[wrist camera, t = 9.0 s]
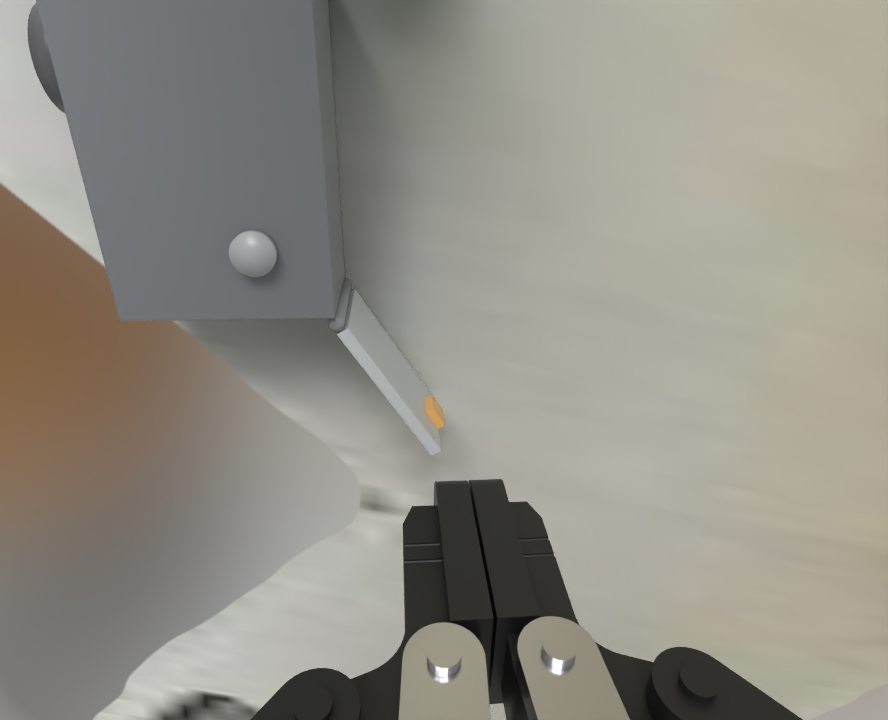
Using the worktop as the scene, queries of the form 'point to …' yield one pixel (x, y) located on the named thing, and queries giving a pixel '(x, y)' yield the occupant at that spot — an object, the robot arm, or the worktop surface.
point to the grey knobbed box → (203, 150)
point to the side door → (387, 367)
